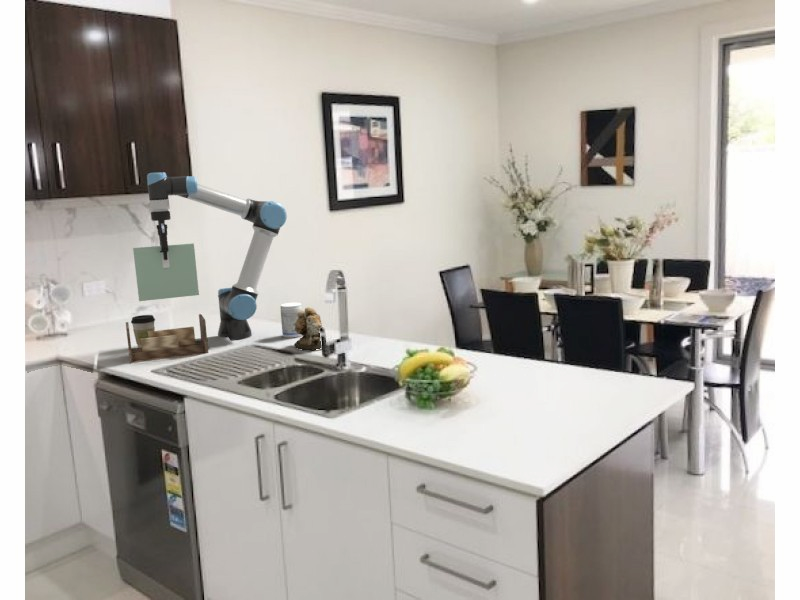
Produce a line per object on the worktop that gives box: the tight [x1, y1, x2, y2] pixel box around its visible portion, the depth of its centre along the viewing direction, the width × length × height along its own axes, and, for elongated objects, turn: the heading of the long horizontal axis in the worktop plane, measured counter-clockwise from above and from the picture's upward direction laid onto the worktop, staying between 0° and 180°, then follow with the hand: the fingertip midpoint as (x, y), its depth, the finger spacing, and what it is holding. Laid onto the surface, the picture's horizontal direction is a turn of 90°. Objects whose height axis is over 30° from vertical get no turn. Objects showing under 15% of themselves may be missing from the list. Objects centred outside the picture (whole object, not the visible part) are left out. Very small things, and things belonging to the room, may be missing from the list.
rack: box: [125, 314, 209, 364], centre depth 281 cm, size 30×14×16 cm, turn 112°
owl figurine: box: [293, 306, 323, 351], centre depth 290 cm, size 18×12×17 cm, turn 41°
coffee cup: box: [130, 314, 156, 348], centre depth 296 cm, size 10×10×15 cm
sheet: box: [132, 242, 200, 302], centre depth 287 cm, size 24×1×22 cm, turn 113°
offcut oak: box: [148, 326, 196, 346], centre depth 284 cm, size 18×1×10 cm, turn 112°
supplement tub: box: [279, 302, 303, 339], centre depth 313 cm, size 10×10×15 cm
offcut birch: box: [141, 335, 179, 352], centre depth 279 cm, size 14×1×8 cm, turn 112°
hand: (166, 267), depth 287 cm, fingers closed on sheet
